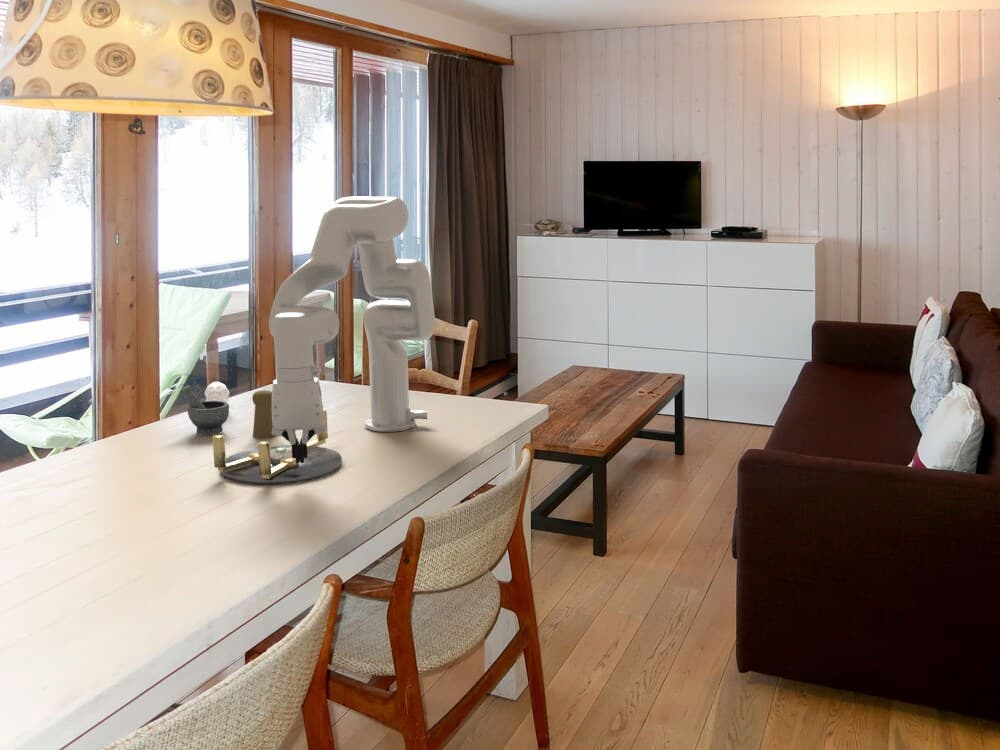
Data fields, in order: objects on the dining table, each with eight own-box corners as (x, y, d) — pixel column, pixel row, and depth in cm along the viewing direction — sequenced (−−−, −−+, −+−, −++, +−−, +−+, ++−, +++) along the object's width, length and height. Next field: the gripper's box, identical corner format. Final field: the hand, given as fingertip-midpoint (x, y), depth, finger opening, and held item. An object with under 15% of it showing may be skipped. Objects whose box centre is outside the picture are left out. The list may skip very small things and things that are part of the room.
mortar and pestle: (231, 426, 257) (228, 380, 254) (228, 436, 248) (225, 387, 245) (185, 428, 255) (182, 381, 253) (180, 438, 246) (177, 390, 244)
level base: (347, 448, 236) (346, 432, 235) (335, 483, 210) (334, 465, 209) (233, 451, 234) (232, 435, 234) (207, 486, 209) (206, 468, 208)
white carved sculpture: (229, 379, 271) (225, 393, 260) (231, 409, 274) (227, 424, 262) (204, 380, 270) (199, 394, 259) (207, 410, 273) (202, 425, 261)
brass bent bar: (297, 457, 224) (295, 423, 222) (282, 455, 226) (280, 421, 224) (333, 442, 235) (331, 410, 234) (318, 440, 237) (317, 409, 235)
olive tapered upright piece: (272, 439, 245) (269, 394, 243) (248, 437, 246) (245, 393, 244) (282, 432, 251) (279, 388, 248) (259, 431, 252) (256, 388, 250)
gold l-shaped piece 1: (259, 456, 224) (257, 423, 223) (271, 459, 222) (269, 426, 221) (209, 471, 214) (207, 436, 213) (222, 474, 212) (219, 439, 210)
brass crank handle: (286, 462, 220) (284, 427, 219) (302, 463, 219) (301, 429, 218) (254, 479, 208) (251, 443, 206) (271, 481, 207) (269, 445, 205)
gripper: (333, 368, 210) (337, 454, 214) (258, 371, 208) (264, 458, 212) (332, 376, 203) (336, 464, 207) (255, 379, 201) (261, 469, 205)
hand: (300, 461), depth 209 cm, fingers closed
